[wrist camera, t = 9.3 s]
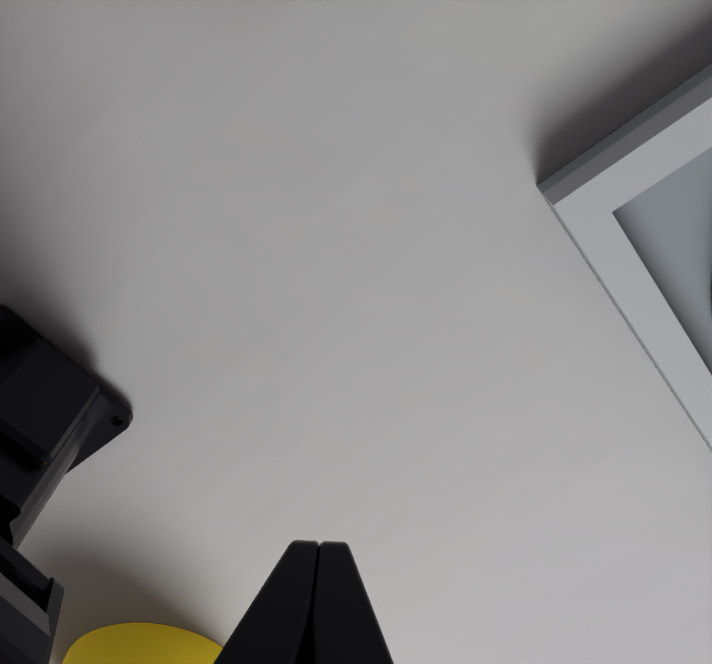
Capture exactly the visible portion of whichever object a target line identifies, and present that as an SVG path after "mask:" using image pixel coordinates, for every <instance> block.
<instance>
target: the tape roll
mask: <svg viewBox="0 0 712 664" xmlns="http://www.w3.org/2000/svg"><path fill="white" fill-rule="evenodd" d="M222 649H223V647H221V646H220V645H218V644H217V643H215V642H213V641H211V640H210V639H208V638H206V637H203V636H201V635H199V634H196V633H194V632H191V631H188V630H185V629H181V628H177V627H173V626H168V625H162V624H154V623H122V624H115V625H110V626H106V627H102V628H99V629H96V630H93V631H91V632H89V633H87V634H85V635H84V636H82V637H81V638H79V639H78V640H77V641H76V642H75V643H74V644H73V645H72V646H71V647H70V649H69V650H68V652H67V654H66V656H65V658H64V660H63V663H62V664H213V663H214V661H215V660H216V658H217V656H218V655H219V653H220V652H221V650H222Z"/></svg>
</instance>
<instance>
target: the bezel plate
mask: <svg viewBox="0 0 712 664" xmlns="http://www.w3.org/2000/svg"><path fill="white" fill-rule="evenodd" d="M537 188H538V189H539V191H540V192H541V194H542V195H543V197H544V198H545V200H546V201H547V203H548V204H549V206H550V207H551V209H552V210H553V212H554V214H555V215H556V217H557V218H558V220H559V221H560V223H561V224H562V226H563V227H564V229H565V230H566V232H567V233H568V235H569V236H570V238H571V239H572V241H573V242H574V244H575V245H576V247H577V248H578V250H579V251H580V253H581V254H582V256H583V257H584V259H585V260H586V262H587V263H588V265H589V266H590V268H591V270H592V271H593V273H594V274H595V276H596V277H597V279H598V280H599V282H600V283H601V285H602V286H603V288H604V289H605V291H606V292H607V294H608V295H609V297H610V298H611V300H612V301H613V303H614V304H615V306H616V307H617V309H618V310H619V312H620V313H621V315H622V316H623V318H624V319H625V321H626V323H627V324H628V326H629V327H630V329H631V330H632V332H633V333H634V335H635V336H636V338H637V339H638V341H639V342H640V344H641V345H642V347H643V348H644V350H645V351H646V353H647V354H648V356H649V357H650V359H651V360H652V362H653V363H654V365H655V366H656V368H657V369H658V371H659V372H660V374H661V376H662V377H663V379H664V380H665V382H666V383H667V385H668V386H669V388H670V389H671V391H672V392H673V394H674V395H675V397H676V398H677V400H678V401H679V403H680V404H681V406H682V407H683V409H684V410H685V412H686V413H687V415H688V416H689V418H690V419H691V421H692V422H693V424H694V425H695V427H696V429H697V430H698V432H699V433H700V435H701V436H702V438H703V439H704V441H705V442H706V444H707V445H708V447H709V448H710V450H711V451H712V297H711V294H712V63H711V64H709V65H708V66H706V67H705V68H704V69H702V70H701V71H699V72H698V73H697V74H695V75H694V76H692V77H691V78H689V79H688V80H687V81H685V82H684V83H682V84H681V85H679V86H678V87H677V88H675V89H674V90H672V91H671V92H669V93H668V94H667V95H665V96H664V97H662V98H661V99H659V100H658V101H657V102H655V103H654V104H652V105H651V106H649V107H648V108H647V109H645V110H644V111H642V112H641V113H640V114H638V115H637V116H635V117H634V118H632V119H631V120H630V121H628V122H627V123H625V124H624V125H622V126H621V127H620V128H618V129H617V130H615V131H614V132H612V133H611V134H610V135H608V136H607V137H605V138H604V139H602V140H601V141H600V142H598V143H597V144H595V145H594V146H592V147H591V148H590V149H588V150H587V151H585V152H584V153H582V154H581V155H580V156H578V157H577V158H575V159H574V160H573V161H571V162H570V163H568V164H567V165H565V166H564V167H563V168H561V169H560V170H558V171H557V172H555V173H554V174H553V175H551V176H550V177H548V178H547V179H545V180H544V181H543V182H541V183H540V184H538V185H537Z"/></svg>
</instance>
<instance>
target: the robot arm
mask: <svg viewBox="0 0 712 664" xmlns="http://www.w3.org/2000/svg"><path fill="white" fill-rule="evenodd" d="M0 320H1V321H2V323H0V664H49V660H50V655H51V650H52V646H53V641H54V636H55V631H56V627H57V622H58V617H59V613H60V608H61V603H62V599H63V594H64V587H62V586H61V585H60V584H59V583H58V582H57V581H56V580H55V579H54V578H48V577H46V576H45V575H44V574H43V573H42V572H41V571H40V570H39V569H38V568H36V567H35V566H34V565H33V564H32V563H31V562H30V561H29V560H28V559H27V558H25V557H24V556H23V555H22V554H21V553H20V552H19V551H18V550H17V548H18V546H19V545H20V543H21V542H22V540H23V539H24V537H25V535H26V534H27V532H28V531H29V529H30V528H31V526H32V525H33V523H34V521H35V520H36V518H37V517H38V515H39V514H40V512H41V511H42V509H43V507H44V506H45V504H46V503H47V501H48V500H49V498H50V497H51V495H52V493H53V492H54V490H55V489H56V487H57V486H58V484H59V483H60V481H61V479H62V478H63V476H64V475H65V474H66V473H68V472H69V471H70V470H72V469H73V468H74V467H76V466H77V465H78V464H80V463H81V462H82V461H84V460H85V459H87V458H88V457H89V456H91V455H92V454H93V453H95V452H96V451H97V450H99V449H100V448H101V447H103V446H104V445H106V444H107V443H108V442H110V441H111V440H112V439H114V438H115V437H116V436H118V435H119V434H120V433H122V432H123V431H124V430H126V429H127V428H128V427H129V425H130V423H131V421H132V420H133V414H132V411H131V410H130V409H129V408H128V407H127V406H125V405H124V404H123V403H122V402H121V401H119V400H118V399H117V398H116V397H115V396H113V395H112V394H111V393H110V392H109V391H107V390H106V389H105V388H104V387H103V386H101V385H100V384H99V383H98V382H97V381H95V380H94V379H93V378H92V377H91V376H89V375H88V374H87V373H86V372H85V371H83V370H82V369H81V368H80V367H79V366H77V365H76V364H75V363H74V362H73V361H71V360H70V359H69V358H68V357H67V356H65V355H64V354H63V353H62V352H61V351H59V350H58V349H57V348H56V347H55V346H53V345H52V344H51V343H50V342H49V341H47V340H46V339H45V338H44V337H43V336H41V335H40V334H39V333H38V332H37V331H35V330H34V329H33V328H32V327H31V326H29V325H28V324H27V323H26V322H24V321H23V320H22V319H21V318H20V317H18V316H17V315H16V314H15V313H14V312H12V311H11V310H10V309H9V308H7V307H5V306H4V305H0ZM115 416H119V417H121V418H122V420H120V419H117V418H116V417H115ZM213 664H394V663H393V660H392V658H391V655H390V652H389V650H388V647H387V645H386V642H385V639H384V637H383V634H382V631H381V629H380V626H379V624H378V621H377V618H376V616H375V613H374V611H373V608H372V605H371V603H370V600H369V597H368V595H367V592H366V590H365V587H364V584H363V582H362V579H361V576H360V574H359V571H358V569H357V566H356V563H355V561H354V558H353V555H352V553H351V550H350V548H349V546H348V544H347V543H345V542H332V541H324V542H322V543H321V544H320V546H319V543H318V542H316V541H306V540H295V541H293V542H291V543H290V545H289V546H288V547H287V549H286V551H285V552H284V554H283V555H282V557H281V558H280V560H279V561H278V563H277V565H276V566H275V568H274V569H273V571H272V572H271V574H270V575H269V577H268V579H267V580H266V582H265V583H264V585H263V586H262V588H261V589H260V591H259V593H258V594H257V596H256V597H255V599H254V600H253V602H252V604H251V605H250V607H249V608H248V610H247V611H246V613H245V614H244V616H243V618H242V619H241V621H240V622H239V624H238V625H237V627H236V628H235V630H234V632H233V633H232V635H231V636H230V638H229V639H228V641H227V642H226V644H225V646H224V647H223V649H222V650H221V652H220V653H219V655H218V656H217V658H216V660H215V661H214V663H213Z"/></svg>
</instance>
